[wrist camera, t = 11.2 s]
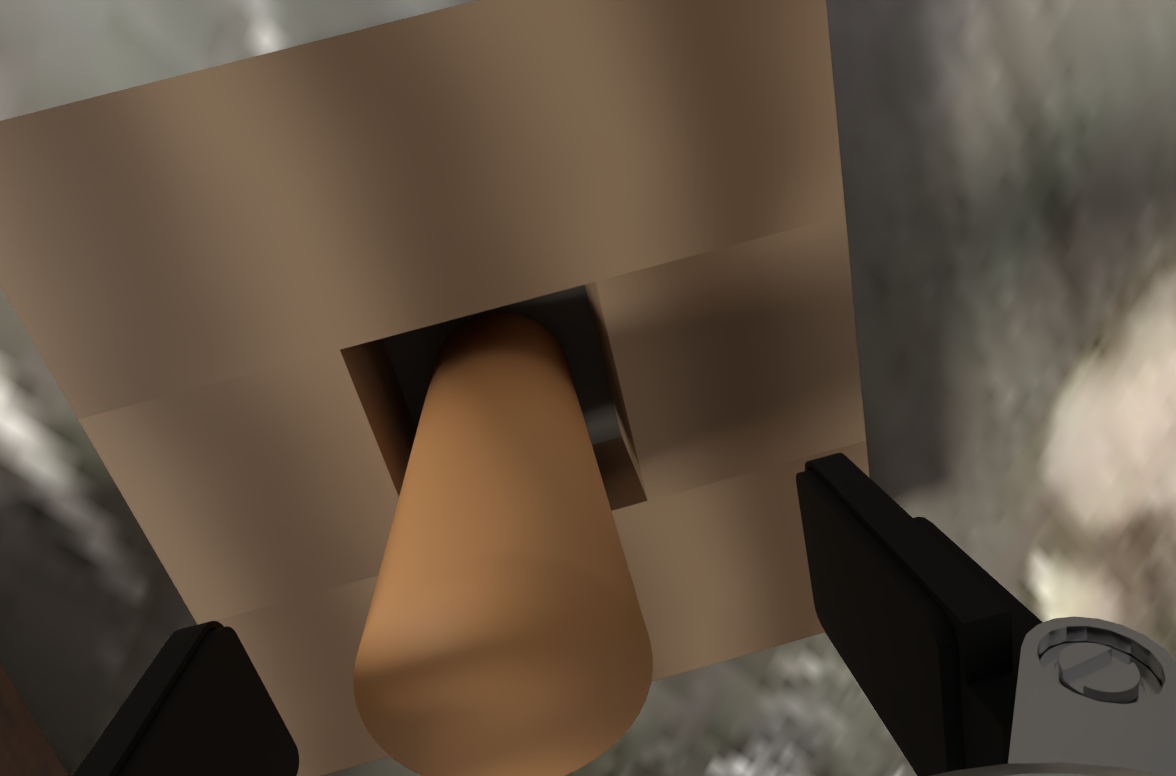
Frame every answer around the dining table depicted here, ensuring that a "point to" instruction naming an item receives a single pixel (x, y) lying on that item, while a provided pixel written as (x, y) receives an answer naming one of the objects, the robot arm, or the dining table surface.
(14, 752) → the tissue box cover
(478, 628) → the pin
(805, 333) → the block
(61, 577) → the dining table surface
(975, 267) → the dining table surface
